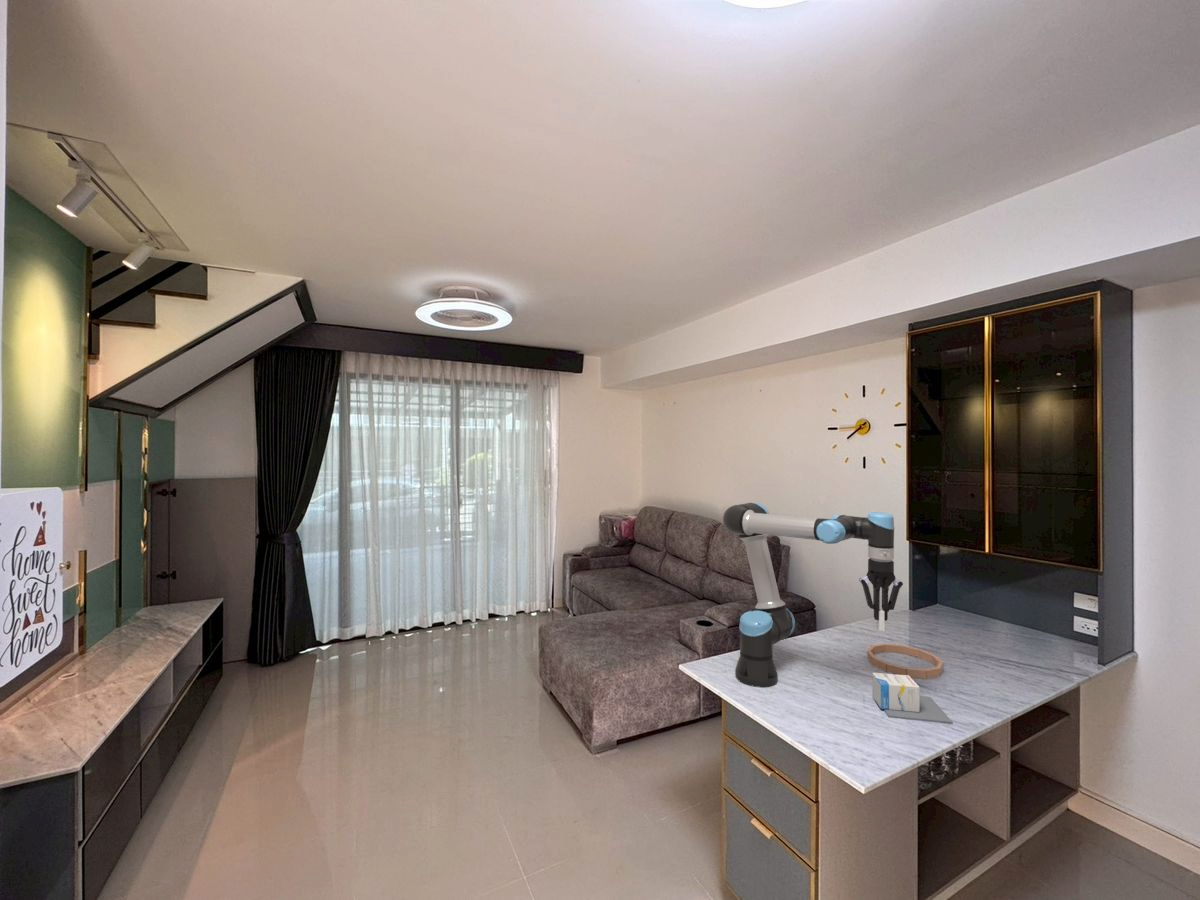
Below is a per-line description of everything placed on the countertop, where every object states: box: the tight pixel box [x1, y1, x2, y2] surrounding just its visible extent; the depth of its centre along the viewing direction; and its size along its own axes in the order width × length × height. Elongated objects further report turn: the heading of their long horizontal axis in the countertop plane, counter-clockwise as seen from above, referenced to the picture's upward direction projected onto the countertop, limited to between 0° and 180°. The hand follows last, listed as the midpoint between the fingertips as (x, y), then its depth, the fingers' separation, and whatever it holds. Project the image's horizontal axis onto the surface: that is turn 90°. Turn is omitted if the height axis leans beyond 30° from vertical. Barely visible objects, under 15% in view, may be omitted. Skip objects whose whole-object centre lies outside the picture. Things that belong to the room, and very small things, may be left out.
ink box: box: [871, 672, 921, 712], centre depth 164 cm, size 9×8×12 cm
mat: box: [882, 695, 954, 725], centre depth 163 cm, size 18×16×1 cm
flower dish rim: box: [866, 643, 944, 680], centre depth 196 cm, size 25×25×3 cm
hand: (880, 629), depth 165 cm, fingers closed
